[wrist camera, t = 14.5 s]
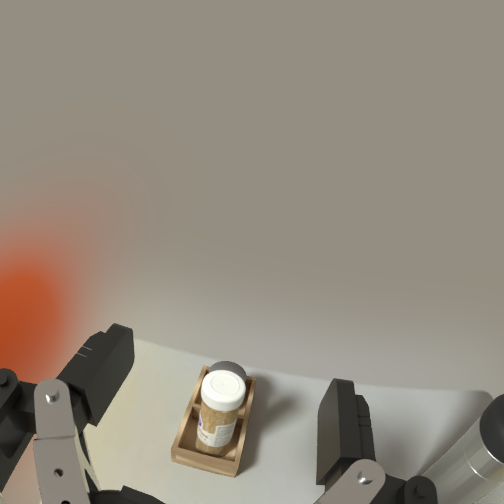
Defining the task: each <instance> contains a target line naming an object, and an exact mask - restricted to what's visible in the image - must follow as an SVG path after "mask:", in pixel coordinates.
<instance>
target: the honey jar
mask: <svg viewBox="0 0 504 504" xmlns="http://www.w3.org/2000/svg"><path fill="white" fill-rule="evenodd" d="M216 370H227V371H231V372H233V373H235V374H237V375H238V376H240V377H241V378H242V380H243V381H244V383H245V380H246V373H245V371H244V369H243V368H242V367H241V366H239V365H238V364H236V363H233V362H229V361H221V362H217V363H215V364H213V365H212V366H211V368H210V369H209V373H210V372H213V371H216Z"/></svg>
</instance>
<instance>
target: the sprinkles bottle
mask: <svg viewBox="0 0 504 504" xmlns="http://www.w3.org/2000/svg"><path fill="white" fill-rule="evenodd" d="M245 391H246V386H245V383H244V381H243V380H242V378H241V377H240V376H238V375H237V374H235V373H233V372H231V371H227V370H216V371H213V372H210V373H209V374H207V375H206V376H205V378H204V379H203V382H202V387H201V397H202V402H201V410H200V415H199V423H198V429H197V438H196V441H195V444H196V448H197V450H198V451H199V452H200V453H201V454H203V455H207V456H211V457H215V458H218V457H221V456H223V455H225V454H226V453H227V452H228V449H229V443H230V440H231V438H232V435H233V431H234V428H235V424H236V421H237V417H238V411H239V408H240V405H241V404H242V402H243V399H244V396H245Z"/></svg>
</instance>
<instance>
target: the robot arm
mask: <svg viewBox="0 0 504 504" xmlns="http://www.w3.org/2000/svg"><path fill="white" fill-rule="evenodd" d="M134 357H135V355H134V342H133V331H132V329H131V328H128V327H125V326H122V325H119V324H116V323H114V324H113V325H112V326H111V327H110V328H109V329H108V330H107V332H106V333H103V332H101V331H100V332H98V333H96V334H94V335H93V336H91V337H90V338H89V339H88V340H87V341H86V342H85V343H84V345H83V347H81V348H80V349H79V351H78V352H77V354H75V356H74V357H73V358H72V359H71V360H70V362H69V363H68V364H67V365H66V367H65V368H64V369H63V370H62V372H61V373H60V374H59V375H58V376H57V378H56V379H46V380H44V381H42V382H40V383H39V384H32V383H27V382H23V381H19V380H18V378H17V376H16V374H15V373H14V372H13V371H12V370H10V369H5V368H3V369H0V504H5V502H4V498H3V496H2V494H1V492H2V491H3V489H4V487H5V485H6V483H7V481H8V479H9V477H10V476H11V474H12V472H13V470H14V468H15V466H16V465H17V463H18V461H19V459H20V458H21V456H22V454H23V452H24V451H25V449H26V447H27V445H28V444H29V442H30V440H31V438H32V437H33V435H34V433H35V434H37V439H34V440H33V450H34V458H35V465H36V472H37V478H38V484H39V489H40V494H41V499H42V504H165V503H163V502H161V501H160V500H158V499H156V498H155V497H153V496H151V495H148V494H145V493H142V492H140V491H137V490H134V489H132V488H129V487H127V486H124V485H123V488H122V490H121V491H119V490H101V488H100V485H99V482H98V480H97V477H96V475H95V472H94V469H93V466H92V462H91V458H90V454H89V450H88V445H87V441H86V437H85V432H84V428H85V426H86V425H87V423H89V424H91V425H94V426H96V427H97V425H98V423H99V422H100V420H101V418H102V417H103V415H104V413H105V412H106V410H107V408H108V406H109V405H110V403H111V401H112V400H113V398H114V397H115V395H116V393H117V392H118V390H119V388H120V387H121V385H122V383H123V382H124V380H125V378H126V377H127V375H128V374H129V372H130V370H131V368H132V366H133V363H134ZM503 481H504V394H503V395H500V396H498V397H497V398H496V399H495V400H494V401H493V402H492V403H491V404H490V405H489V406H488V407H487V409H486V410H485V411H484V412H483V414H482V415H481V416H480V417H479V418H478V419H477V420H476V422H475V423H474V424H473V425H472V426H471V427H470V428H469V429H468V431H467V432H466V433H465V434H464V435H463V436H462V437H461V438H460V439H459V440H458V441H457V442H456V443H455V444H454V445H453V446H452V447H451V448H450V449H449V450H448V451H447V452H446V453H445V454H444V455H443V456H442V457H441V458H440V459H439V460H437V461H436V462H435V463H434V464H433V465H432V466H431V467H430V468H429V469H428V470H426V471H425V472H424V473H423V474H422V475H421V476H415V477H412V478H411V479H409V480H408V481H405V480H402V479H398V478H395V477H392V476H389V475H387V474H385V472H384V470H383V468H382V467H381V466H380V465H379V464H378V463H377V462H376V459H375V451H374V443H373V434H372V428H371V419H370V412H369V406H368V404H367V402H366V401H365V399H364V397H363V396H362V395H355V390H354V383H353V381H349V380H342V379H336V378H334V379H333V380H332V382H331V384H330V386H329V388H328V390H327V392H326V393H325V395H324V397H323V399H322V401H321V403H320V406H319V410H318V438H317V475H316V485H325V493H324V494H323V495H322V496H321V497H320V498H319V499H318V500H317V501H316V502H315V503H314V504H473V503H475V502H476V501H478V500H479V499H480V498H482V497H483V496H485V495H486V494H487V493H489V492H490V491H491V490H493V489H494V488H495V487H496V486H498V485H499V484H500V483H501V482H503Z"/></svg>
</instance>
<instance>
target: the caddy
mask: <svg viewBox="0 0 504 504" xmlns="http://www.w3.org/2000/svg"><path fill="white" fill-rule="evenodd" d="M210 368H211V367H208V366H203V368H202V371H201V373H200V376H199V378H198V381H197V384H196V386H195V389H194V391H193V394H192V397H191V399H190V402H189V404H188V407H187V409H186V412H185V415H184V417H183V420H182V422H181V425H180V428H179V430H178V433H177V435H176V438H175V441H174V443H173V446H172V448H171V459H172V461H173V462H176V463H179V464H183V465H186V466H190V467H193V468H197V469H201V470H205V471H209V472H213V473H217V474H221V475H225V476H230V477H235V475H236V472H237V470H238V467H239V462H240V458H241V453H242V448H243V444H244V439H245V434H246V429H247V424H248V419H249V414H250V409H251V404H252V399H253V394H254V389H255V384H256V379H257V378H253V377H249V376H246V380H245V386H246V391H245V396H244V399H243V402H242V404H241V405H240V408H239V411H238V417H237V421H236V424H235V428H234V431H233V435H232V438H231V440H230V443H229V449H228V452H227V453H226V454H225V455H223V456H221V457H218V458H215V457H211V456H207V455H203V454H201V453H200V452H199V451H198V450H197V448H196V444H195V441H196V438H197V429H198V423H199V415H200V410H201V402H202V397H201V387H202V382H203V379H204V378H205V376H206V375H207V374H209V369H210Z"/></svg>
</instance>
